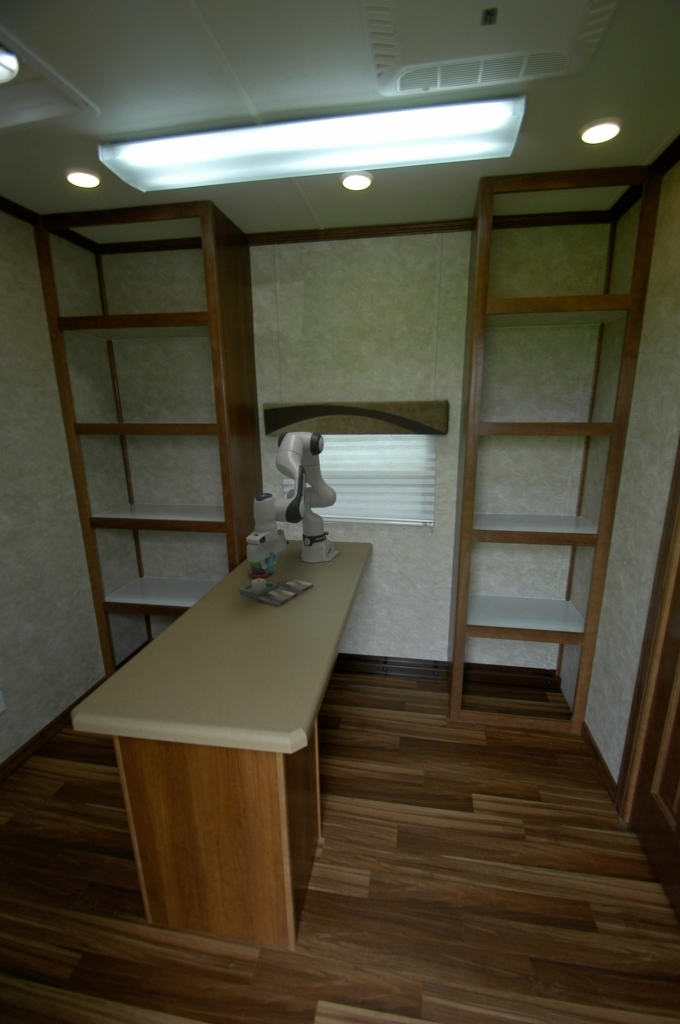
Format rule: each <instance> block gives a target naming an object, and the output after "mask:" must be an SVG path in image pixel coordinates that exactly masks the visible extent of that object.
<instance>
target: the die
mask: <svg viewBox="0 0 680 1024" xmlns="http://www.w3.org/2000/svg"><path fill="white" fill-rule="evenodd" d="M266 582H267V579H265V578H264V579H260V578H257V579H253V580H251V583H250V584H251V585H252V591H254V592H258V593H260V592H262V591H264V590H266V589H267V588H266Z"/></svg>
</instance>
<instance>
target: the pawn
mask: <svg viewBox="0 0 680 1024" xmlns="http://www.w3.org/2000/svg"><path fill="white" fill-rule="evenodd" d="M273 556H274V553H273V552H270V555H269V557H268V558H266V559H265V561H264V562H265V564H267V568H266V569H265V572H266V573H272V572H274V573H275V565H274V557H273Z"/></svg>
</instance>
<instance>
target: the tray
mask: <svg viewBox="0 0 680 1024" xmlns="http://www.w3.org/2000/svg"><path fill="white" fill-rule="evenodd" d="M277 587H279V584H277V583H274V582H270V581H266V588H267V589H266V590H264V591H262V592H260V593H258V592H254V591H252V585H251V583H249V584H247V585H245V586H242V587H240V588H238V589H239V594H240V595H242V596H245V597H249V598H252V599H255V600H256V599H257V598H259V597H261V596H262V595H264V594H266V593H268V592H270V591H272V590H274V589H276V588H277Z"/></svg>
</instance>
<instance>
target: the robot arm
mask: <svg viewBox="0 0 680 1024" xmlns="http://www.w3.org/2000/svg"><path fill="white" fill-rule="evenodd" d="M324 446H325V441H324V437H323V436H322V434H320V433H318V432H311V431H310V432H309V431H293V432H289V431H285V432H282V433H281V434H280V435H279V436H278V439H277V448H278V450H277V453H276V457H275V467H276V470H277V471H278V472H279V473H281V474H282V476H285V477H287V478H289V479H291V480H293V482H294V483H293V486H294V487H293V488H291V489H289V490H288V493H287V495H286V498H280V497H279V498H278V497H277V498H276V497H274V495H273V494H272V493H270V492H269V493H268V492H263V493H260V494H258V495H257V494H256V496H255V497H254V499H253V518H254V522H255V523H254V525H255V526H254V531H252V532H251V533H250V534H249V535H248V536H246V539H245V543H247V546H246V559H247V561H248V562H249V563H250V562H252V563H256V562H260V563H261V565H262V569H266V568H267V564H265V562H264V561H265V559H266V558H268V557H269V555H270V552H273V553H274V556H273V557H274V566H276V564H277V559H278V556H279V553H281V552H284V551H286V550H287V548H288V545H287V538H286V535H285V531H284V530H283V529H282V528H278V524H277V522H280V523H281V522H283V523H290V524H298V523H300V522H301V525H302V526H301V527H302V536H301V537H302V543H301V554H300V557H301V561H303V562H304V563H313V564H315V563H316V564H317V563H323V562H325V563H326V562H330V561H331V560H332V559H334V558H335V557H336V556H338V554H340V551H339V550H338V549H335V543H334V542H333V541H331V540H330V539H328V538H327V536H329V534H330V533H329V531H324V527H325V526H324V524H325V523H324V518H323V517H322V515H319V514H317V513H315V512H314V511H313V510H312V509H315V508H316V509H318V508H319V509H321V508H322V509H323V508H328V507H333V506H334V505H335V504H336V501H337V493H336V491H335V489H334V488H333V487H331V486H330V485H329V484H328V483H327V482H325V480H324V479H323V475H322V472H321V463H320V460H321V459H320V455H321V453H322V452H323V451H324ZM307 485H309V486H307Z"/></svg>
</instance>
